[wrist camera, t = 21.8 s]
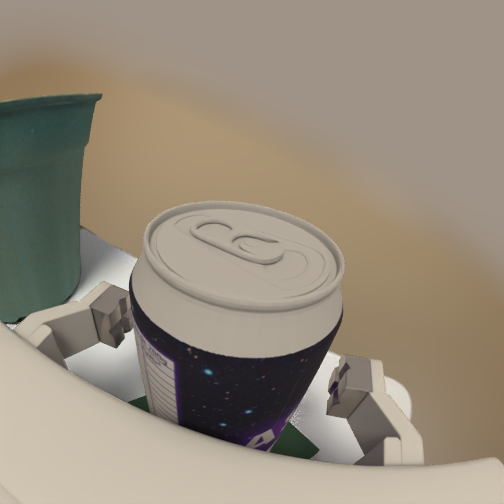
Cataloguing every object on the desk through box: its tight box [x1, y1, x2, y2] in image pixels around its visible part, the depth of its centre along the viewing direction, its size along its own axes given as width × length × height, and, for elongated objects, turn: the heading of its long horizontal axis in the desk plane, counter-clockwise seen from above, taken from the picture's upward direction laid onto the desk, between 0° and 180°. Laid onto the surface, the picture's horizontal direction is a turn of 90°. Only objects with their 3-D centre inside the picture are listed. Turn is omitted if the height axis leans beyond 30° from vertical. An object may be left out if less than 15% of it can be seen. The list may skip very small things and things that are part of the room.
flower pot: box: [0, 93, 103, 322], centre depth 17 cm, size 16×16×16 cm
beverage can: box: [129, 201, 345, 452], centre depth 10 cm, size 6×6×12 cm
